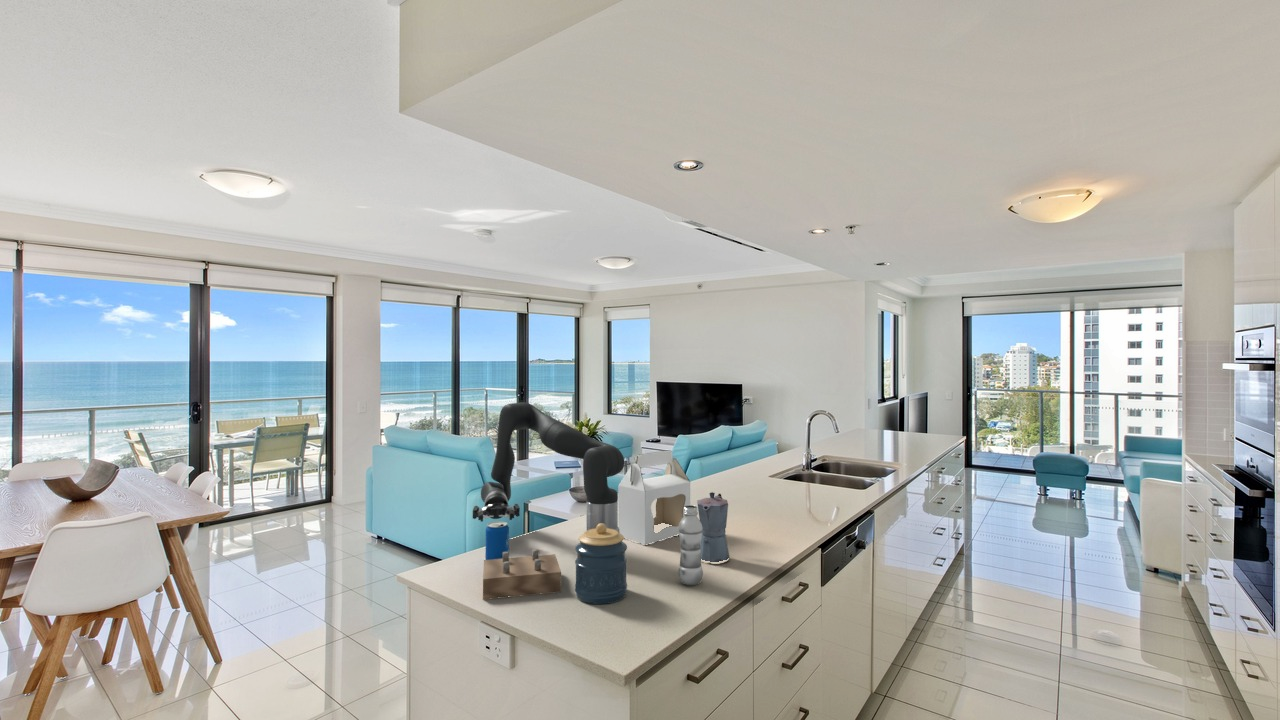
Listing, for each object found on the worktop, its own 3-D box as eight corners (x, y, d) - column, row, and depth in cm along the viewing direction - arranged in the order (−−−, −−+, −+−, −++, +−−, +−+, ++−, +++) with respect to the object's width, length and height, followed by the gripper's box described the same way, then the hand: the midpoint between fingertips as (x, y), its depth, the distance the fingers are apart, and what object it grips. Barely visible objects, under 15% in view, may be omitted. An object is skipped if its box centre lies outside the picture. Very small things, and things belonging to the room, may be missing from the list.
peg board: (555, 572, 155) (555, 545, 155) (561, 591, 141) (561, 561, 141) (483, 578, 150) (484, 550, 150) (482, 599, 136) (483, 568, 136)
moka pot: (690, 565, 160) (690, 495, 160) (705, 549, 174) (704, 485, 175) (723, 570, 156) (723, 498, 157) (735, 553, 171) (735, 487, 171)
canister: (607, 609, 131) (607, 533, 131) (564, 597, 138) (564, 525, 138) (637, 591, 142) (637, 521, 142) (595, 580, 149) (595, 514, 149)
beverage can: (502, 571, 156) (502, 527, 156) (481, 569, 157) (481, 526, 157) (512, 563, 162) (512, 521, 162) (491, 561, 163) (492, 520, 163)
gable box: (663, 524, 202) (663, 447, 203) (691, 532, 193) (691, 451, 193) (617, 537, 187) (617, 453, 188) (644, 546, 178) (644, 458, 178)
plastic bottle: (705, 580, 149) (705, 505, 149) (699, 589, 142) (699, 511, 143) (681, 577, 151) (681, 503, 151) (675, 586, 144) (675, 508, 145)
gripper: (474, 493, 183) (472, 506, 168) (518, 491, 187) (520, 504, 171) (473, 516, 183) (471, 531, 168) (518, 514, 187) (520, 528, 171)
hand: (496, 517), depth 170 cm, fingers open, 8 cm apart
